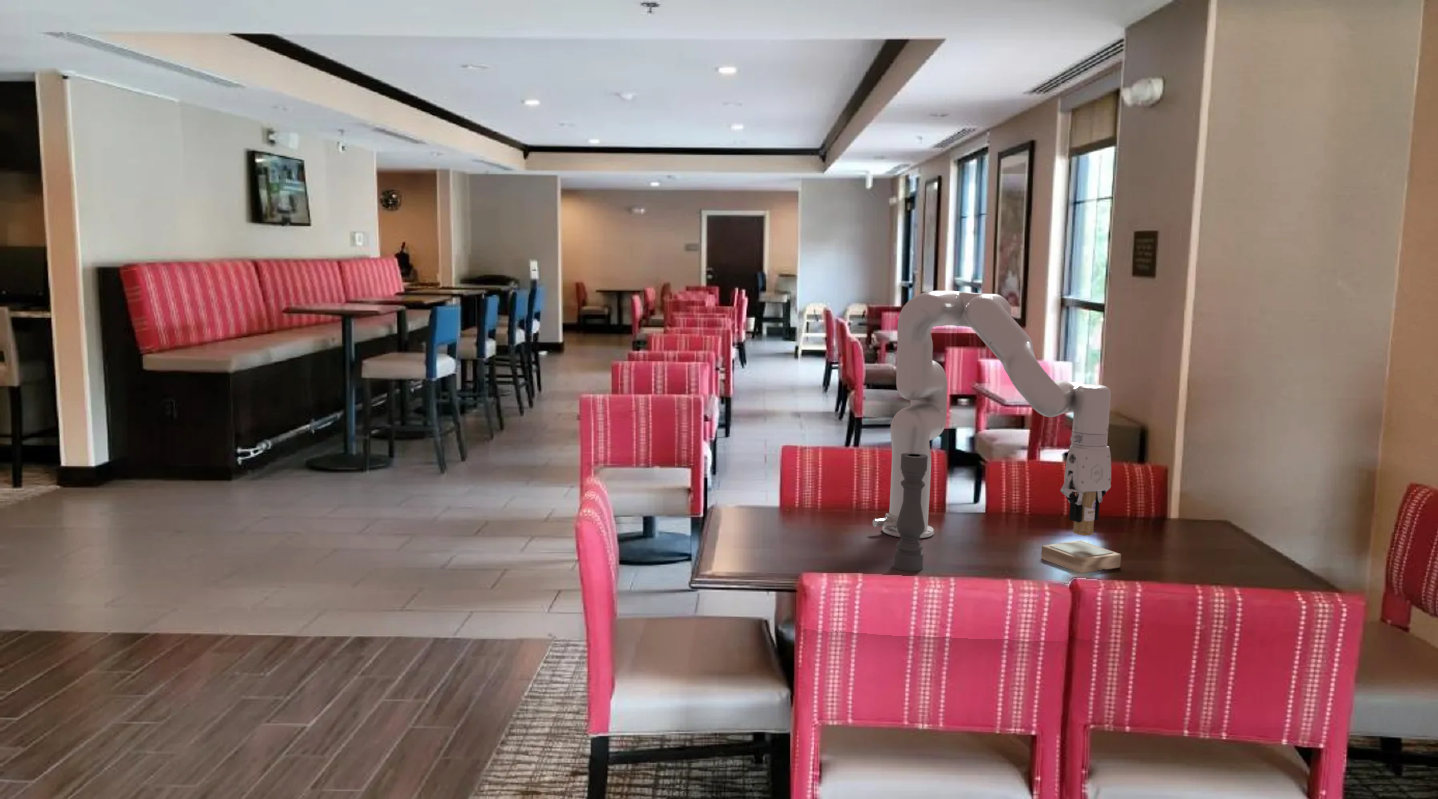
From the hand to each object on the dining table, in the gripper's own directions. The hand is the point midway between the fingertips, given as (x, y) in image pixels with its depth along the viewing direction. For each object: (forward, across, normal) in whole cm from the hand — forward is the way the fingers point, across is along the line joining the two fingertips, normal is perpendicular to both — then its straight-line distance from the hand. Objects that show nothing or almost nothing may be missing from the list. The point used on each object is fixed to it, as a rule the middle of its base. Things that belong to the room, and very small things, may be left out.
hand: (1083, 519), depth 233 cm
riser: (+10, 0, 0) cm, 10 cm away
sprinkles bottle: (+4, 0, 0) cm, 4 cm away
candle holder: (+10, -39, +12) cm, 42 cm away
